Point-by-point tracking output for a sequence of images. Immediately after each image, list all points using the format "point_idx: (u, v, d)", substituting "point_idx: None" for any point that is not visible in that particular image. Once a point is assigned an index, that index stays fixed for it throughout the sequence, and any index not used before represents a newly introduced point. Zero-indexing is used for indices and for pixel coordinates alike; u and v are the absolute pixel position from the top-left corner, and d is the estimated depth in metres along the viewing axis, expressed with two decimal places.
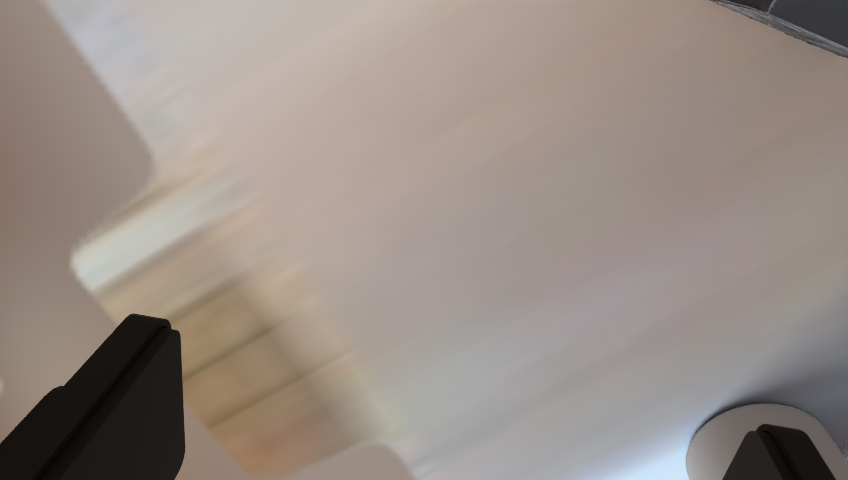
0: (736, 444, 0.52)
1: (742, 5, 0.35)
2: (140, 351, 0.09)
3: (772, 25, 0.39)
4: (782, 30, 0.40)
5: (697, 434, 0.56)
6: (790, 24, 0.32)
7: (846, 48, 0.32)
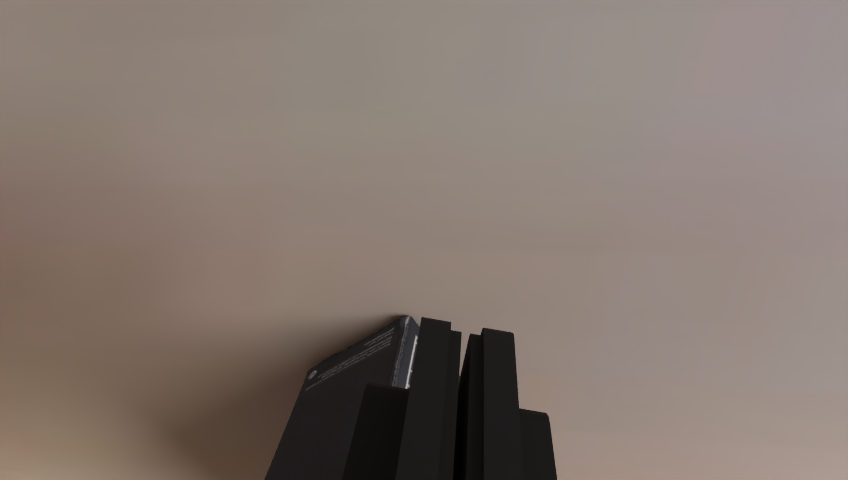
0: None
1: None
2: (448, 350, 0.10)
3: None
4: None
5: None
6: None
7: None
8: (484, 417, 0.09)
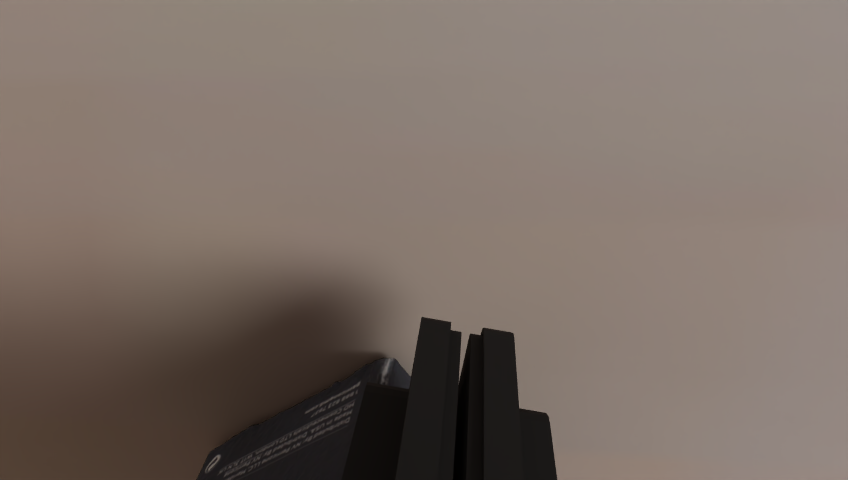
0: None
1: None
2: (448, 351, 0.10)
3: None
4: None
5: None
6: None
7: None
8: (484, 417, 0.09)
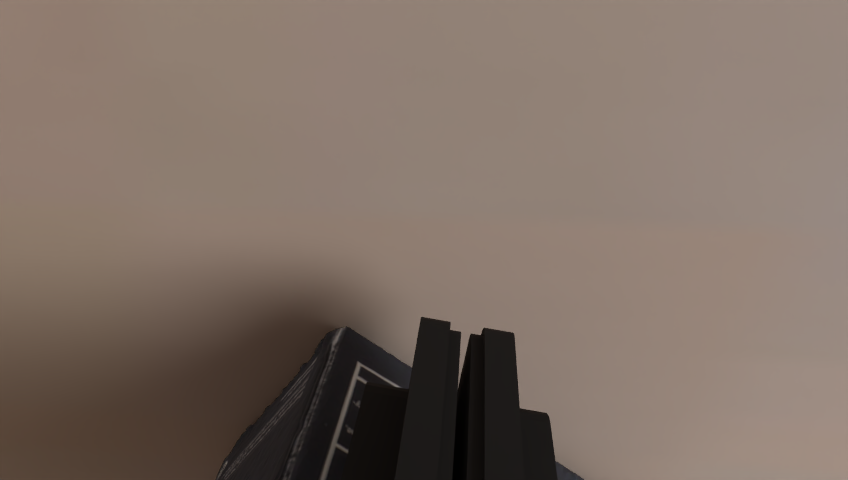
0: None
1: None
2: (447, 350, 0.10)
3: None
4: None
5: None
6: None
7: None
8: (484, 417, 0.09)
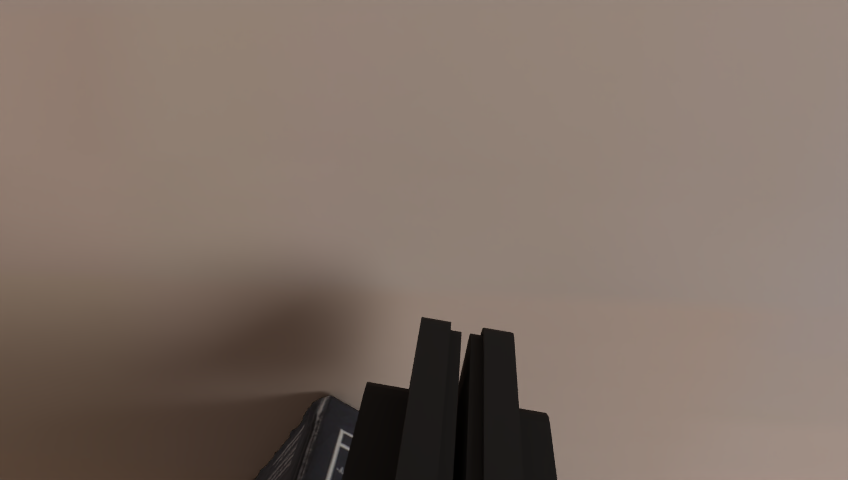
0: None
1: None
2: (448, 351, 0.10)
3: None
4: None
5: None
6: None
7: None
8: (484, 417, 0.09)
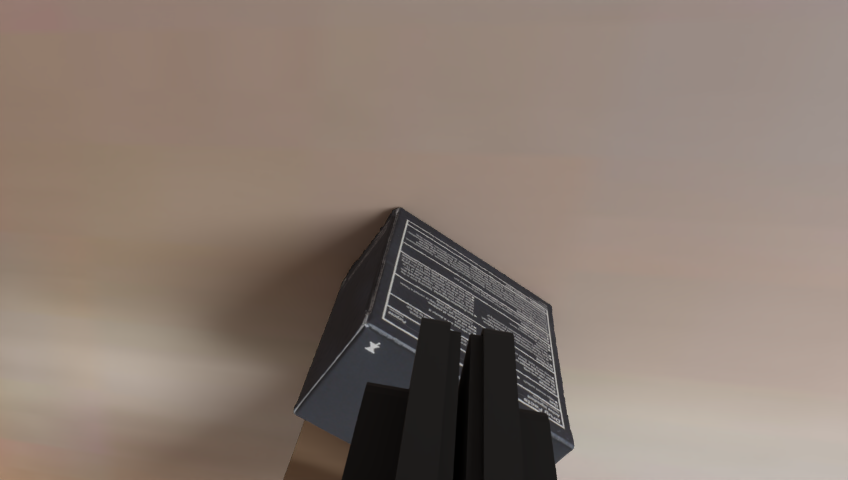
0: None
1: (562, 387, 0.29)
2: (448, 351, 0.10)
3: (497, 295, 0.31)
4: (480, 274, 0.32)
5: None
6: None
7: None
8: (484, 417, 0.09)
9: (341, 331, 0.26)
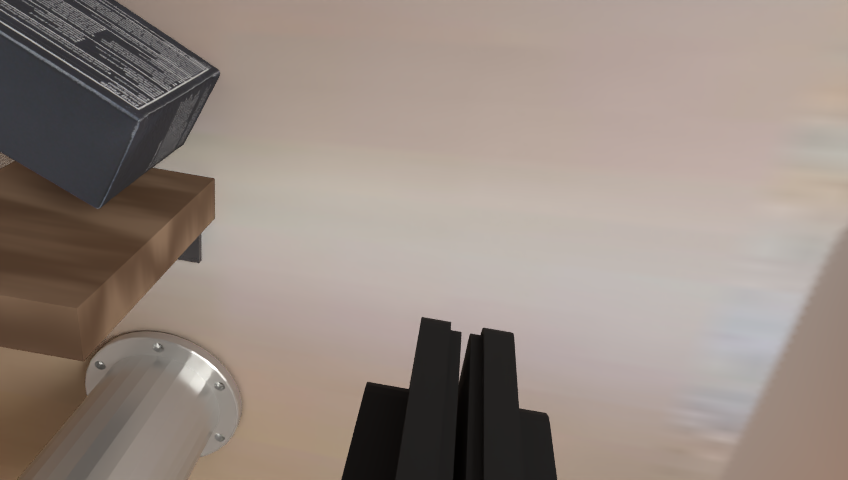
0: None
1: (172, 100, 0.33)
2: (448, 351, 0.10)
3: (143, 40, 0.36)
4: (133, 25, 0.36)
5: None
6: (113, 103, 0.30)
7: (49, 62, 0.29)
8: (484, 417, 0.09)
9: None
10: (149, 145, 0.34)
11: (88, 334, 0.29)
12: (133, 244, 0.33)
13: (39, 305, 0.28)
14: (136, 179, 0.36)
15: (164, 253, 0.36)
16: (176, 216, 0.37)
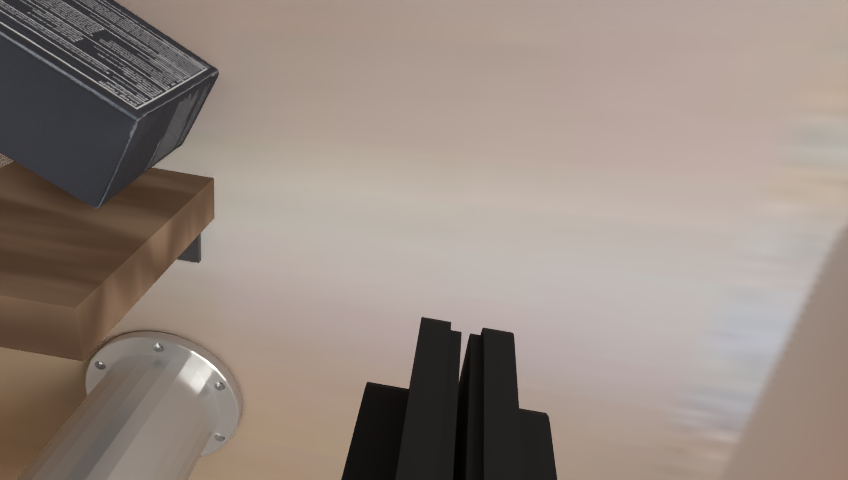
0: None
1: (170, 99, 0.33)
2: (448, 351, 0.10)
3: (142, 40, 0.36)
4: (132, 25, 0.36)
5: None
6: (112, 102, 0.30)
7: (47, 62, 0.29)
8: (484, 417, 0.09)
9: None
10: (148, 145, 0.34)
11: (87, 334, 0.29)
12: (132, 244, 0.33)
13: (38, 305, 0.28)
14: None
15: (163, 253, 0.36)
16: (175, 216, 0.37)
